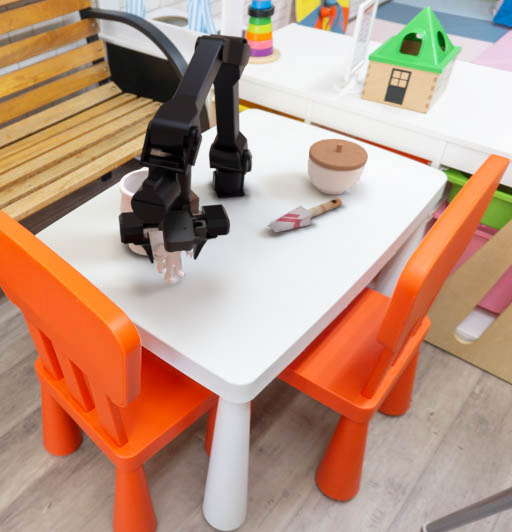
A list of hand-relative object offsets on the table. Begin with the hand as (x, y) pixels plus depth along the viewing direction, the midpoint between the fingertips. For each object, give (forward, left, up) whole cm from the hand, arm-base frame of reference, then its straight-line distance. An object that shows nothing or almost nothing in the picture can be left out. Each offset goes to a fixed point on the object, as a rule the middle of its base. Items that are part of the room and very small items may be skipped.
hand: (173, 260), depth 97 cm
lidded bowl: (-41, -29, -7) cm, 51 cm away
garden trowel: (-31, -17, -7) cm, 36 cm away
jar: (+3, -13, -7) cm, 15 cm away
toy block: (-5, -23, -6) cm, 24 cm away
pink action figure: (0, 0, -4) cm, 4 cm away
